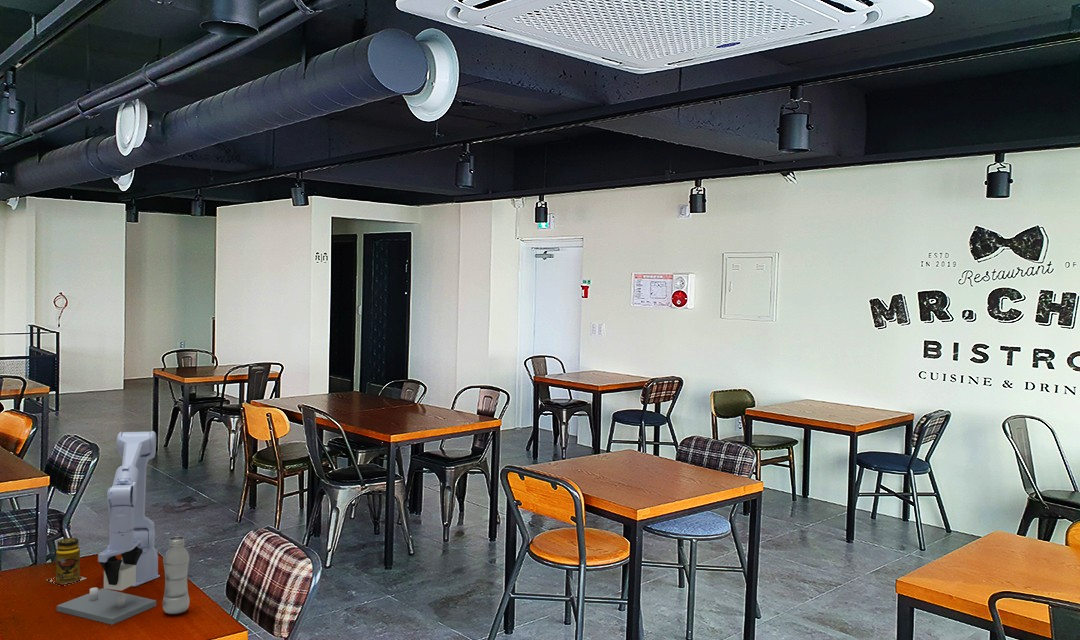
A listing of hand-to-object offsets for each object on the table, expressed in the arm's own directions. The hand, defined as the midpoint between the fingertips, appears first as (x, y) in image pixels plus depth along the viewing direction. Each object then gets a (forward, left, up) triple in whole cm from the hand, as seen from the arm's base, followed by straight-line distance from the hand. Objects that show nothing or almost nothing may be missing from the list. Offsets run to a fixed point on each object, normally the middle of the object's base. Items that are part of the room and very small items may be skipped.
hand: (121, 580), depth 218 cm
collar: (0, 0, -2) cm, 2 cm away
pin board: (0, -5, -8) cm, 10 cm away
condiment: (-10, -33, -9) cm, 36 cm away
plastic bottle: (-6, +13, -9) cm, 17 cm away
